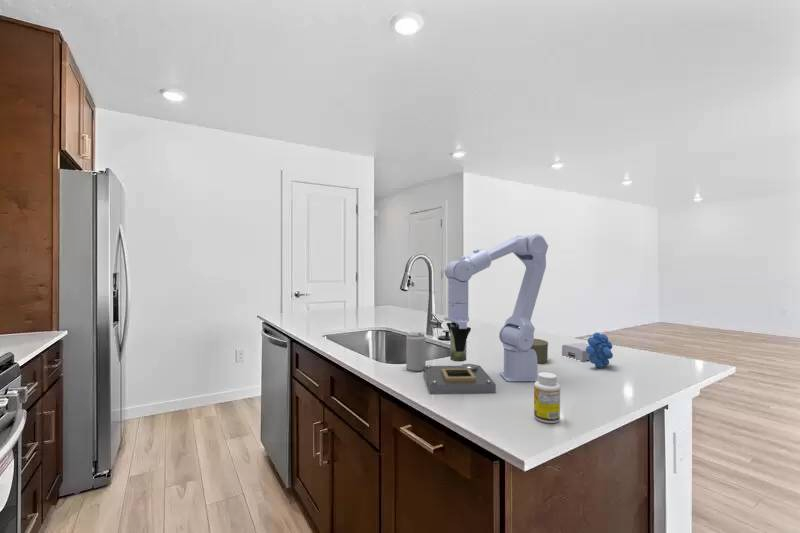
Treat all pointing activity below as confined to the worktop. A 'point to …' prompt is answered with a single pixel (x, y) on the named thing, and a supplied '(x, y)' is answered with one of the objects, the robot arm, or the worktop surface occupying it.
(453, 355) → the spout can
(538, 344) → the can
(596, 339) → the grapes
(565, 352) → the charger
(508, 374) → the robot arm
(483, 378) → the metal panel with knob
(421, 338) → the beverage can
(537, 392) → the supplement bottle
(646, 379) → the worktop surface
